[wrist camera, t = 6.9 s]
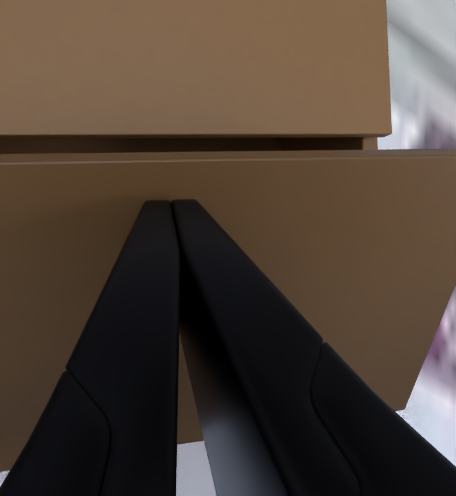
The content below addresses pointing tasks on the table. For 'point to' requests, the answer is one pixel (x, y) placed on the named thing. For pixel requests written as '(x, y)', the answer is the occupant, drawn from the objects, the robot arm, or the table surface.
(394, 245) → the flap
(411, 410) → the table surface
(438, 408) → the table surface
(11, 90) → the carton
